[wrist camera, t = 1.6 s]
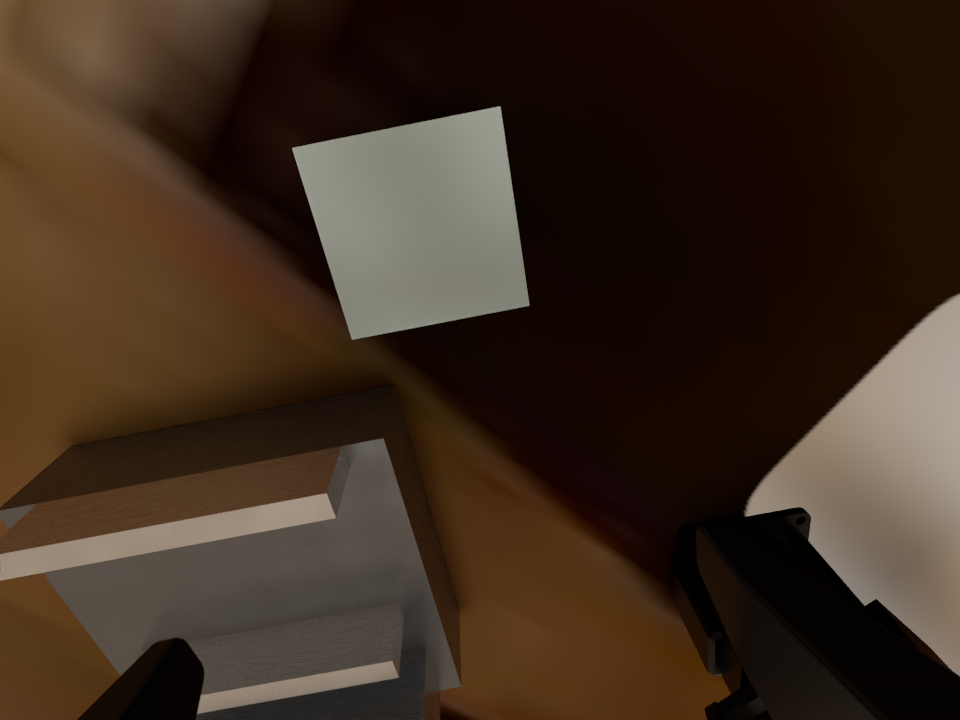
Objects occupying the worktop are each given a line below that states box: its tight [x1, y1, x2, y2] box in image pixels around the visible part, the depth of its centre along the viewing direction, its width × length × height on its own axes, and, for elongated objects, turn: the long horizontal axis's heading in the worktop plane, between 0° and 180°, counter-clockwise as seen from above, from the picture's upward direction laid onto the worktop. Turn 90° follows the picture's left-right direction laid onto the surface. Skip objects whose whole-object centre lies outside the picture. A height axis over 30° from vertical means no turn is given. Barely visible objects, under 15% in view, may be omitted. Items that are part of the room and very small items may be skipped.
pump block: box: [292, 106, 530, 340], centre depth 16 cm, size 5×5×6 cm
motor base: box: [0, 385, 461, 720], centre depth 21 cm, size 14×14×8 cm
